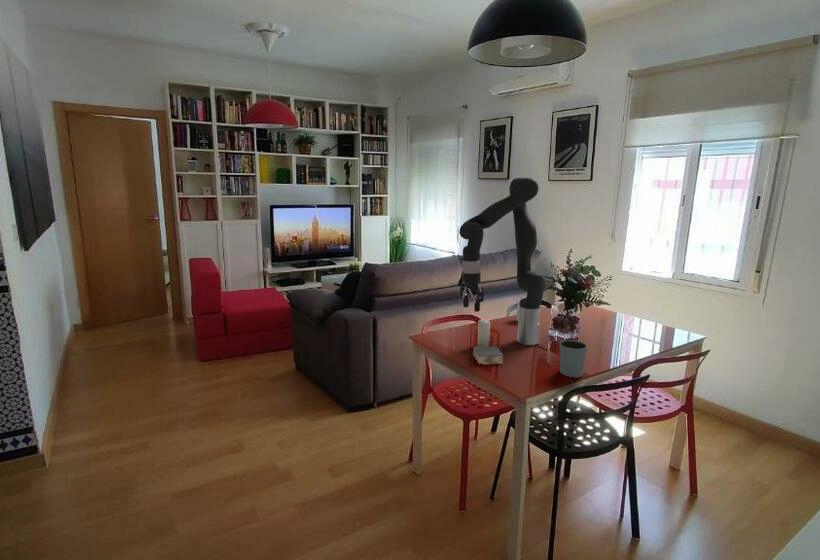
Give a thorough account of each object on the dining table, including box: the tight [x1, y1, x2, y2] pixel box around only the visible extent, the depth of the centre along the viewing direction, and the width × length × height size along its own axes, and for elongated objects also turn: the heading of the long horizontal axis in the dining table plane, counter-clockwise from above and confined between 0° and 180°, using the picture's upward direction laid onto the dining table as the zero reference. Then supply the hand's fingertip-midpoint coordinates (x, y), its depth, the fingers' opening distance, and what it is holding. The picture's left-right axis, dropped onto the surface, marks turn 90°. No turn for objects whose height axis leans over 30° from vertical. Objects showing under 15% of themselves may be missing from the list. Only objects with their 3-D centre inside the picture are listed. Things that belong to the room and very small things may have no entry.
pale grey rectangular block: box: [476, 319, 491, 347], centre depth 204 cm, size 5×5×12 cm
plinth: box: [472, 345, 504, 366], centre depth 190 cm, size 10×10×4 cm
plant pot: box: [558, 339, 588, 379], centre depth 177 cm, size 10×10×12 cm
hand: (471, 309), depth 190 cm, fingers open, 8 cm apart
